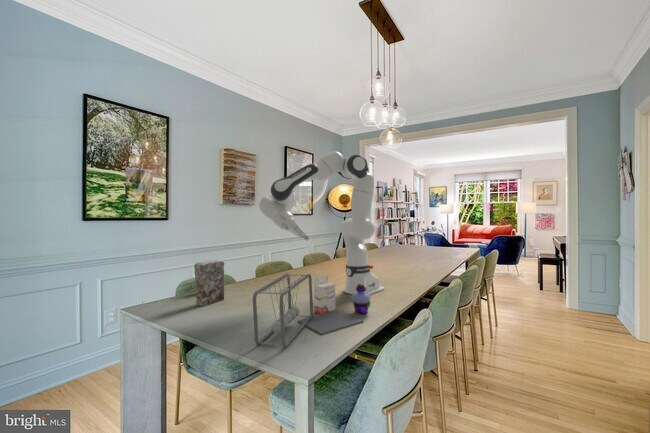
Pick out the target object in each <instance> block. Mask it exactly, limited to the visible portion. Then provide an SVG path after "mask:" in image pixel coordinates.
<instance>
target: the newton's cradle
mask: <svg viewBox="0 0 650 433" xmlns="http://www.w3.org/2000/svg"><path fill="white" fill-rule="evenodd" d="M293 276H295V277H296V276H299V277H298V278H296V280H293V281H292V282H291V277H293ZM307 279H308V287H309V288H308V289H309V292H308V293H309V309H310V310H309V312H310V313H309V315H299V314H300V308H299V307H298V306H296V304H297V302H295V304H294V300H292V299H293V298H294V296H295V292H293V293H292V292H291V291H292V290H296V292H298V290H299V287H298V286H299V285H300V284H301V283H303V282H304V281H305V280H307ZM312 279H313V278H312V275H311V274H310V273H308V274H290V273H288V272H287V273H285V274H283V275H281V276H279V277H278V278H276V279H274V280H273V281H270V282H269V283H267V284H266V285H264V286H263V287H261V288H259V289H257V290H256V291H254V292H253V296H252V314H253V330H254V334H253V336H254V343H255V345H256V346H260V345H271V346H272V345H273V346H282V347H283V348H287V347H288V346H289V345H290V343H292V341H293V340H294V339H295V338H296V337H297V335H298V334H299V333H300V332H301V331H302V330H303V328H304V327H306V326H305V325H306V324H307V322H308V321H309V320H310V319H311V318H312V317H313V316H314V306H313V305H314V302H313V300H314V298H313V280H312ZM285 281H286V284H287V285H286V284H285ZM281 283H282V284H283V288H279V291H278V292H277V288H276V286H278V287H281V285H280V284H281ZM273 287H274V290H275V292H271V289H273ZM296 287H297V289H295V288H296ZM267 291H269V292H267ZM291 293H292V294H291ZM259 294H265V295H266V294H267V295H270V296H271V298H270V299H273V297H272V296H273V295H276V298H277V299H276V300H277V301H279V302H277V305H278V308H279V314H278V315H279V316H278V319H275V322H273V324H272V326H271V329H270V330H268V332H267V333H266V334H265V335H264V336H263V337H262V338H260V339H259V330H258V329H259V328H258V309H257V308H258V306H257V305H258V304H257V296H258V295H259ZM277 295H279V298H278V296H277ZM292 295H293V296H292ZM284 297H287V298H286V299H285V302H284ZM297 297H298V295H297V294H296V297H295V299H298V298H297ZM278 299H279V300H278ZM286 301H287V307H288V308H287V311H286V306H284V305H285V304H286ZM271 302H272V304H274V301H273V300H271ZM272 308H273V312H274V315H275V316H274V317H275V318H277V317H276V316H277V315H276V312H275V306H274V305H272ZM296 317H299V318H300V317H303V318H305V319H306V318H307V319H306V320H305V321H304V322H303V324H301V325H300V326H299V327H298V328H297V329H296V330H295V331H294V333H293V334H292V335H291V336H290V337H289V338H288V339H287V341H286V335H285V334H286V333H285V328H286V327H287V326H288V324H291V323H292V321H293V320H294V319H296ZM273 333H275V334H281V335H280V337H281V340H280V341H281V343H274V342H273V343H272V342H265V341H266V340H267V339H268V337H270V336H271V335H272V334H273Z"/></svg>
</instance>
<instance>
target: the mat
mask: <svg viewBox="0 0 650 433" xmlns="http://www.w3.org/2000/svg"><path fill="white" fill-rule="evenodd" d="M307 318H308V317H305V318H302V319H299V320H297V322H298V323H300V324H301V325H302V324H303V322H304V321H305V320H306V319H307ZM364 322H365V321H364V320H363V319H361V318H359V317H356V316H354V315H351V314H348V313H346V312H344V311H342V310H339V309H337V310H336V309H335V310H333V311H330V312H327V313H324V314H318V315H315V316H314V315H313V316H312V318H311V319H310V320H309V321H308V322H307V324H306V325H305V326H304V327H306V328H308V329H310V330H312V331H313V332H315V333H317V334H319V335H320V336H323V335H326V334H331V333H332V332H336V331H339V330H341V329H342V330H343V329H345V328H346V329H347V328H348V327H351V326H352V327H353V326H355V324H356V325H359V324H362V323H364ZM358 323H359V324H358Z"/></svg>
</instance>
